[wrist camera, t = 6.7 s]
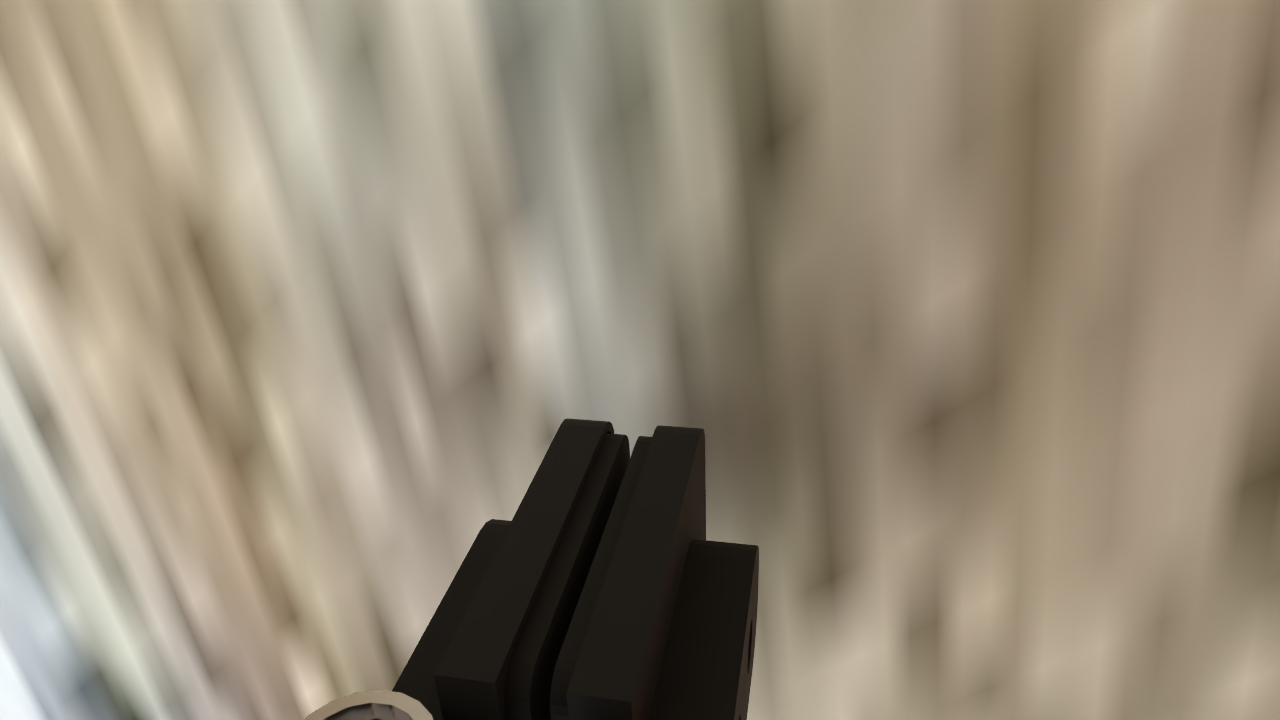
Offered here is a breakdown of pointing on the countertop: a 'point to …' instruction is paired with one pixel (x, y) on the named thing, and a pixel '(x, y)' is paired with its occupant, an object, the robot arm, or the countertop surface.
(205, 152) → the countertop surface
